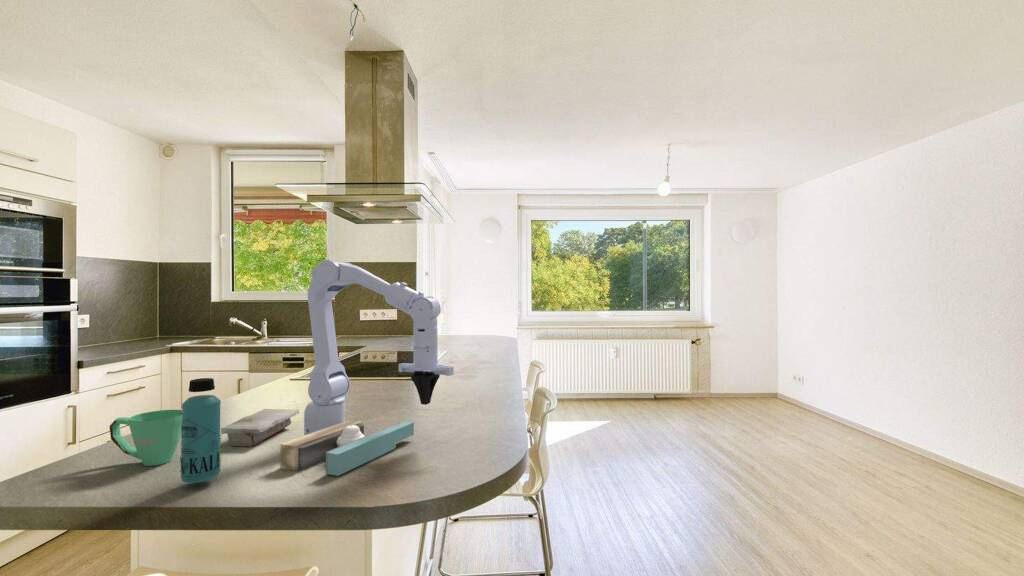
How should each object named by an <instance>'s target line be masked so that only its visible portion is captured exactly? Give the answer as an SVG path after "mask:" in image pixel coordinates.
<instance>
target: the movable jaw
mask: <svg viewBox="0 0 1024 576" xmlns="http://www.w3.org/2000/svg"><path fill="white" fill-rule="evenodd" d="M414 428H415V424H414V422H413V421H406V420H405V421H403V422H400V423H398V424H395V425H393V426H390V427H388V428H382V429H380V430H378V431H375V432H373V433H371V434H368V435H364V436H365V437H363V438H360V439H358V440H355V441H353V442H350V443H348V444H345V445H343V446H340V447H338V448H335V449H333V450H330V451H328V452H326V461H325V474H327V475H331V476H336V477H338V476H340V475H342V474H345V473H347V472H349V471H351V470H353V469H355V468H357V467H359V466H362V465H364V464H366V463H368V462H370V461H372V460H374V459H376V458H379V457H381V456H383V455H385V454H387V453H389V452H391V451H393V450H394V449H396V446H397V443H399V442H401V441H403V440H406V439H408V438H409V437H412V436H414V434H415V433H414V431H415V429H414Z"/></svg>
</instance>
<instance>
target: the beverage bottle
mask: <svg viewBox="0 0 1024 576" xmlns="http://www.w3.org/2000/svg"><path fill="white" fill-rule="evenodd" d="M188 386H189V387H188V392H189V393H201V392H202V393H203V392H208V391H213V390H215V387H216V386H215V380H214V378H211V377H204V378H203V377H202V378H201V377H200V378H196V379H191V380H190V381H189V385H188ZM221 403H222V401H221V399H220V398H218V396H216V395H214V394H200V395H199V394H198V395H195V396H190V397H188V398H187V399H186V400H184V402H183V403H181V411H182V426H181V430H182V431H181V436H180V438H181V441H180V442H181V444H180V453H181V454H180V457H179V458H180V459H179V462H180V464H179V466H180V471H179V472H180V478H181V481H182V482H183V483H186V484H193V483H194V484H195V483H202V482H207V481H210V480H212V479H214V478H217V477H218V476H219V475H220V472H221V462H222V460H221V457H222V450H221V449H222V448H221V444H222V442H221V440H222V434H221Z"/></svg>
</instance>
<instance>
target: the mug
mask: <svg viewBox="0 0 1024 576" xmlns="http://www.w3.org/2000/svg"><path fill="white" fill-rule="evenodd" d="M121 425H126V426H128V427H129V430H130V433H131V437H132V440H133V444H134V447H135V448H134V447H132V446H131V444H129V442H128V441H127V440H126V439H125V438H124V436H123V435H121V427H120V426H121ZM181 426H182V409H163V410H154V411H149V412H143V413H138V414H135V415H132V416H130V417H124V416H123V417H121V416H120V417H117V418H115V419H114V420H113V421H112V422H111V424H109V427H108V428H109V432H110V433H109V434H110V440H111V441H112V442H113V443H114V444H115V445H116V446H117V447H118V448H119V449H120V450H121V451H122V452H123V453H124V454H126V455H128V456H130V457H133V458H135V459H138V460H140V461H141V462H142V464H143V466H146V467H152V466H153V467H154V466H160V465H164V464H167V463H169V462H171V461H172V459H173V457H174V455H175V452H176V450H177V448H178V444H179V441H180V439H181V436H182V435H181V431H182V430H181Z"/></svg>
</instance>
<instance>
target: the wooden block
mask: <svg viewBox="0 0 1024 576" xmlns="http://www.w3.org/2000/svg"><path fill="white" fill-rule="evenodd" d="M363 423H364V422H363V421H361V420H360V421H359V420H352V419H350V420H349V419H348V420H345V422H343V423H340V424H337V425H334V426H331V427H328V428H325V429H322V430H319V431H316V432H313V433H311V434H308V435H305V436H304V435H302V436H299V437H297V438H293V439H291V440H288V441H284V442H282V443H280V444H279V452H280V453H279V454H280V456H279V457H280V458H279V462H280V464H279V465H280V466H279V469H282V470H287V471H290V472H291V471H292V472H296V471H298V470H299V471H305V470H308V469H309V468H312V467H314V466H316V465H319V464H321V463H323V461H324V462H326V452H328V451H330V450H333V449H335V448H338V445H337V439H338V438H339V437H340V436H341V434H342V433H343V429H344V428H345V427H347V426H350V425H356V426H358V427H359V428H360V432H361V433H362V434H363V435H364V436H365V425H363Z"/></svg>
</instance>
